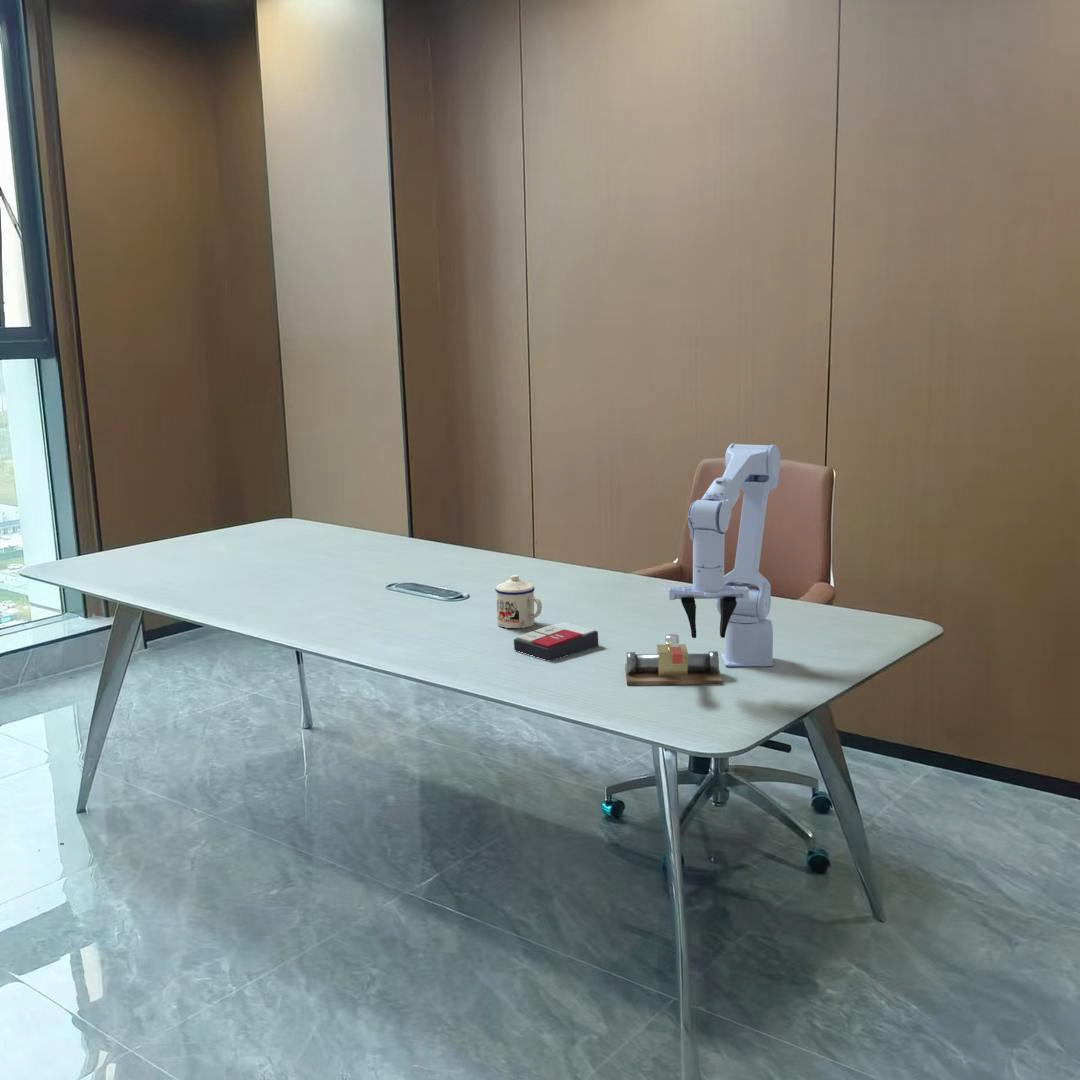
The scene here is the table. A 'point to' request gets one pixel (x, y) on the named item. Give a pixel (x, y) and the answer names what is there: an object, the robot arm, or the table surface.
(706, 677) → the board
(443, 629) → the table surface
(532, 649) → the calculator
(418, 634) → the table surface
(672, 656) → the lever
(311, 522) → the table surface
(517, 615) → the teacup with lid
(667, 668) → the valve
